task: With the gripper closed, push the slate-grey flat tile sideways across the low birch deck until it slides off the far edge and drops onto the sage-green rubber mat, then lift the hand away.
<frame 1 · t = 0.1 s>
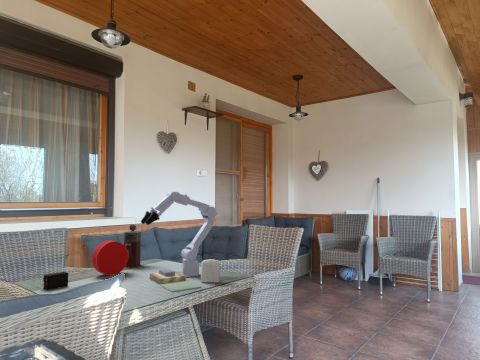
hand: (144, 223, 191), 32 cm above the table, tool tilted 50°, fingers open, 7 cm apart
deck: (167, 280, 193), on the table
mat: (180, 286, 179), on the table
slate tile: (166, 274, 194), point 3 cm above the table, touching deck
glass decanter: (131, 266, 232), on the table
digital camera: (55, 287, 176), on the table
toy clock: (110, 274, 206), on the table
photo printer: (210, 282, 189), on the table
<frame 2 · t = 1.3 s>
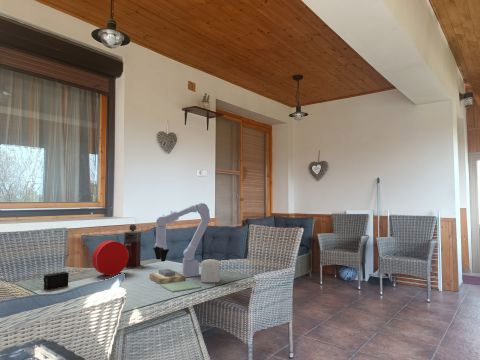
hand: (160, 260, 202), 9 cm above the table, tool pointing down, fingers open, 7 cm apart
nothing on the table moved.
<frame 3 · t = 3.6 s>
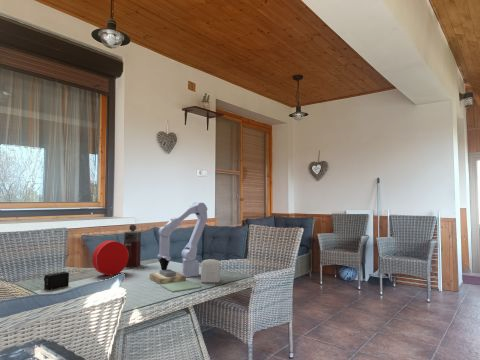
hand: (164, 271, 197), 4 cm above the table, tool pointing down, fingers closed
slate tile: (167, 274, 193), point 3 cm above the table, touching deck
everything else where it was.
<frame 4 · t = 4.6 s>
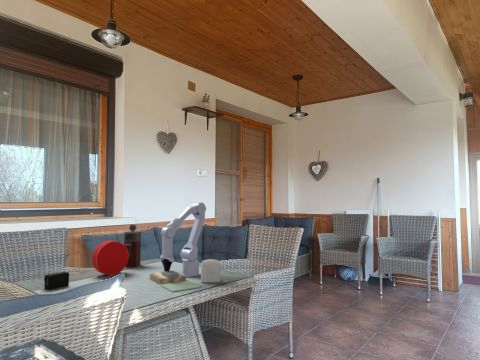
hand: (166, 272, 194), 4 cm above the table, tool pointing down, fingers closed
slate tile: (170, 276, 189), point 3 cm above the table, touching deck, gripper
everything else where it was.
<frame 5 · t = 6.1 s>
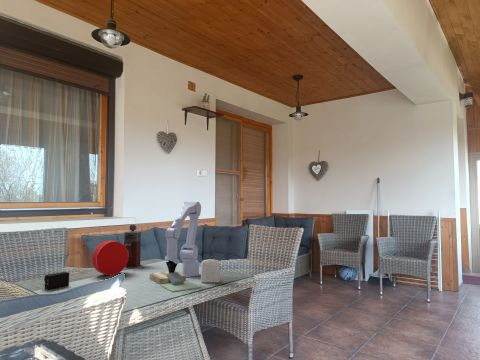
hand: (171, 274, 188), 4 cm above the table, tool pointing down, fingers closed
slate tile: (175, 280, 184), point 2 cm above the table, tilted 19°, touching deck
everything else where it was.
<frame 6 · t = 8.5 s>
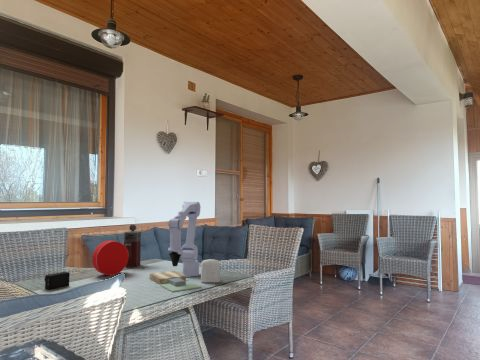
hand: (175, 266, 185), 9 cm above the table, tool pointing down, fingers closed
slate tile: (176, 283, 182), point 1 cm above the table, touching mat
everything else where it was.
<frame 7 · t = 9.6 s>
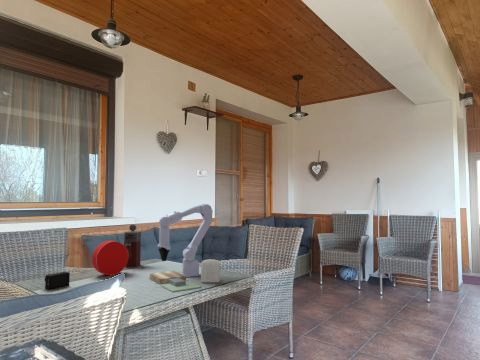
hand: (163, 260, 201), 9 cm above the table, tool pointing down, fingers closed
nothing on the table moved.
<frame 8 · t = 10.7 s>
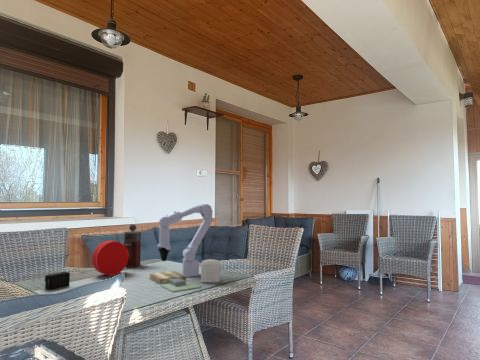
hand: (163, 260, 201), 9 cm above the table, tool pointing down, fingers closed
nothing on the table moved.
at the end: slate tile inside the target area (3.9 cm from its centre), point 0.6 cm above the table; slate tile touching mat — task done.
